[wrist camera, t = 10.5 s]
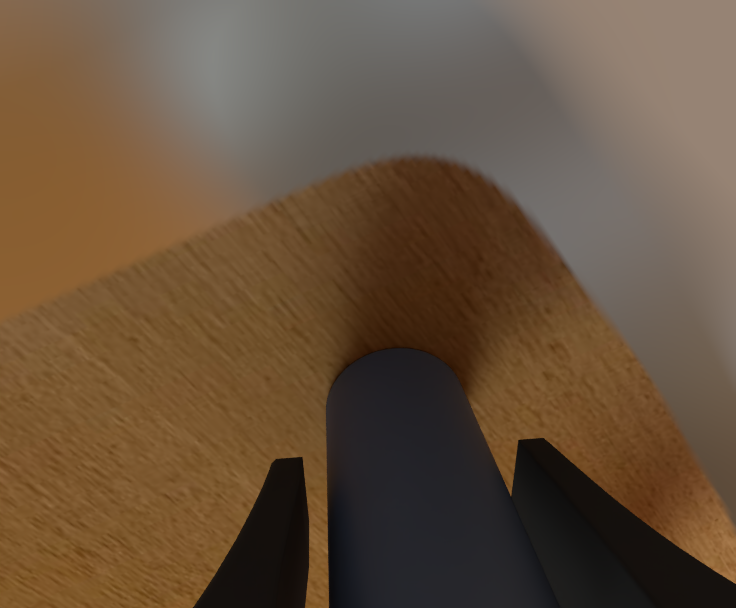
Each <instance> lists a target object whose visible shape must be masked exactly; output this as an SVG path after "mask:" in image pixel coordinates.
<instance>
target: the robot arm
mask: <svg viewBox="0 0 736 608" xmlns="http://www.w3.org/2000/svg"><path fill="white" fill-rule="evenodd" d="M511 498H512V500H513V502H514V505H515V507H516V509H517V511H518V514H519V516H520V518H521V520H522V523H523V525H524V527H525V529H526V532H527V534H528V536H529V538H530V541H531V543H532V545H533V547H534V550H535V552H536V554H537V556H538V558H539V561H540V563H541V565H542V567H543V570H544V572H545V574H546V576H547V579H548V581H549V583H550V585H551V588H552V590H553V592H554V594H555V597H556V599H557V601H558V603H559V606H560V608H736V584H735V583H733V582H731V581H730V580H728V579H727V578H725V577H723V576H722V575H720V574H718V573H717V572H715V571H714V570H712V569H711V568H709V567H708V566H706V565H705V564H703V563H702V562H700V561H699V560H697V559H695V558H694V557H692V556H691V555H689V554H688V553H686V552H685V551H683V550H682V549H680V548H679V547H677V546H676V545H675V544H673V543H672V542H670V541H669V540H668V539H666V538H665V537H663V536H662V535H661V534H659V533H658V532H657V531H655V530H654V529H653V528H651V527H650V526H649V525H647V524H646V523H645V522H643V521H642V520H641V519H639V518H638V517H637V516H635V515H634V514H633V513H631V512H630V511H629V510H628V509H626V508H625V507H624V506H623V505H621V504H620V503H619V502H618V501H616V500H615V499H614V498H613V497H611V496H610V495H609V494H608V493H607V492H605V491H604V490H603V489H602V488H601V487H599V486H598V485H597V484H596V483H595V482H594V481H592V480H591V479H590V478H589V477H588V476H587V475H585V474H584V473H583V472H582V471H581V470H580V469H578V468H577V467H576V466H575V465H574V464H573V463H572V462H570V461H569V460H568V459H567V458H566V457H565V456H564V455H562V454H561V453H560V452H559V451H558V450H557V449H556V448H555V447H553V446H552V445H551V444H550V443H549V442H548V441H546V440H545V439H544V438H537V439H524V440H518V448H517V456H516V464H515V472H514V480H513V487H512V495H511ZM308 570H309V516H308V507H307V497H306V487H305V478H304V468H303V459H302V457H296V458H284V459H276V460H275V461H274V462H273V463H272V464H271V467H270V470H269V472H268V475H267V477H266V480H265V482H264V485H263V487H262V489H261V491H260V494H259V496H258V498H257V500H256V502H255V504H254V506H253V508H252V510H251V512H250V514H249V516H248V518H247V520H246V522H245V524H244V526H243V528H242V530H241V531H240V533H239V535H238V537H237V539H236V541H235V542H234V544H233V546H232V547H231V549H230V551H229V552H228V554H227V556H226V557H225V559H224V561H223V563H222V564H221V566H220V568H219V569H218V571H217V573H216V574H215V576H214V577H213V579H212V580H211V582H210V583H209V585H208V586H207V588H206V590H205V591H204V592H203V594H202V595H201V597H200V598H199V600H198V601H197V603H196V604H195V606H194V607H193V608H305V601H306V591H307V581H308Z"/></svg>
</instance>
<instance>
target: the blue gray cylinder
mask: <svg viewBox="0 0 736 608" xmlns="http://www.w3.org/2000/svg"><path fill="white" fill-rule="evenodd" d="M326 436H327V501H328V565H329V608H560V606H559V603H558V601H557V599H556V597H555V594H554V592H553V590H552V588H551V585H550V583H549V581H548V579H547V576H546V574H545V572H544V570H543V567H542V565H541V563H540V561H539V558H538V556H537V554H536V552H535V550H534V547H533V545H532V543H531V541H530V538H529V536H528V534H527V532H526V529H525V527H524V525H523V523H522V520H521V518H520V516H519V514H518V511H517V509H516V507H515V505H514V502H513V500H512V498H511V496H510V494H509V491H508V489H507V487H506V485H505V482H504V480H503V478H502V476H501V473H500V471H499V469H498V467H497V464H496V462H495V460H494V458H493V455H492V453H491V451H490V449H489V446H488V444H487V442H486V440H485V438H484V435H483V433H482V431H481V429H480V426H479V424H478V422H477V420H476V417H475V415H474V413H473V411H472V408H471V406H470V404H469V402H468V399H467V397H466V395H465V393H464V390H463V388H462V386H461V384H460V382H459V380H458V378H457V376H456V374H455V373H454V372H453V371H452V369H451V368H450V367H449V366H448V365H447V364H446V363H444V362H443V361H442V360H440V359H439V358H437V357H435V356H433V355H431V354H429V353H426V352H423V351H419V350H415V349H408V348H393V349H385V350H381V351H377V352H374V353H371V354H368V355H366V356H364V357H362V358H360V359H358V360H357V361H355V362H354V363H352V364H351V365H350V366H349V367H347V368H346V369H345V370H344V371H343V372H342V373H341V374H340V376H339V377H338V378H337V379H336V381H335V382H334V384H333V386H332V388H331V390H330V392H329V395H328V398H327V404H326Z"/></svg>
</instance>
